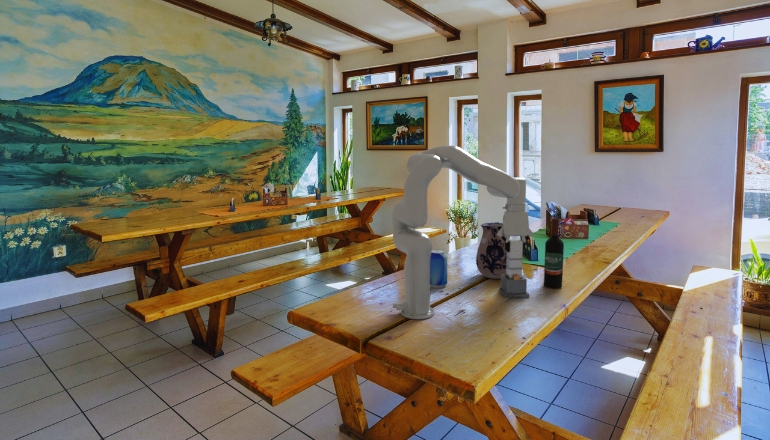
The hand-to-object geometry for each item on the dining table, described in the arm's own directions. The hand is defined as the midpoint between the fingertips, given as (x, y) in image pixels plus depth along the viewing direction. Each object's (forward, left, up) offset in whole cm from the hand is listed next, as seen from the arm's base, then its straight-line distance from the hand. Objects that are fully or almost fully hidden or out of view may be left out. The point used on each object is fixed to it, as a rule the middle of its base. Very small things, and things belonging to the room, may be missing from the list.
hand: (514, 251), depth 190 cm
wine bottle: (+20, +9, -19) cm, 29 cm away
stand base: (0, 0, -19) cm, 19 cm away
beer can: (-30, +14, -19) cm, 38 cm away
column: (0, 0, -13) cm, 13 cm away
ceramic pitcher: (-1, +27, -19) cm, 33 cm away
